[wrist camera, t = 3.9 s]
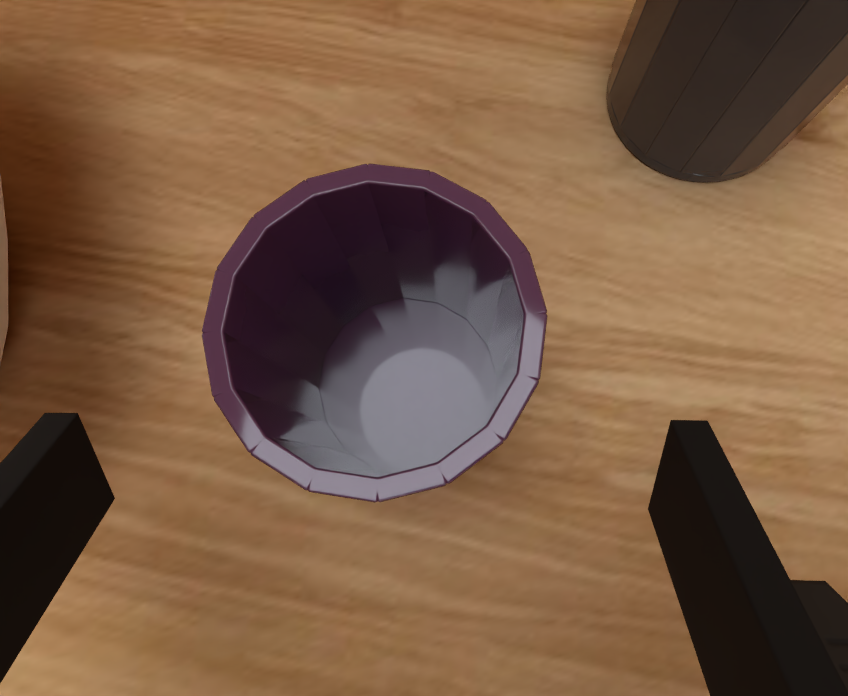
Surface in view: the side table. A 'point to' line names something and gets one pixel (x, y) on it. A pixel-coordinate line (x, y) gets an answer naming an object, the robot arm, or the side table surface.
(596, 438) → the side table surface
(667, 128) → the slate cup
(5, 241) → the bowl
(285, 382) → the plum cup
